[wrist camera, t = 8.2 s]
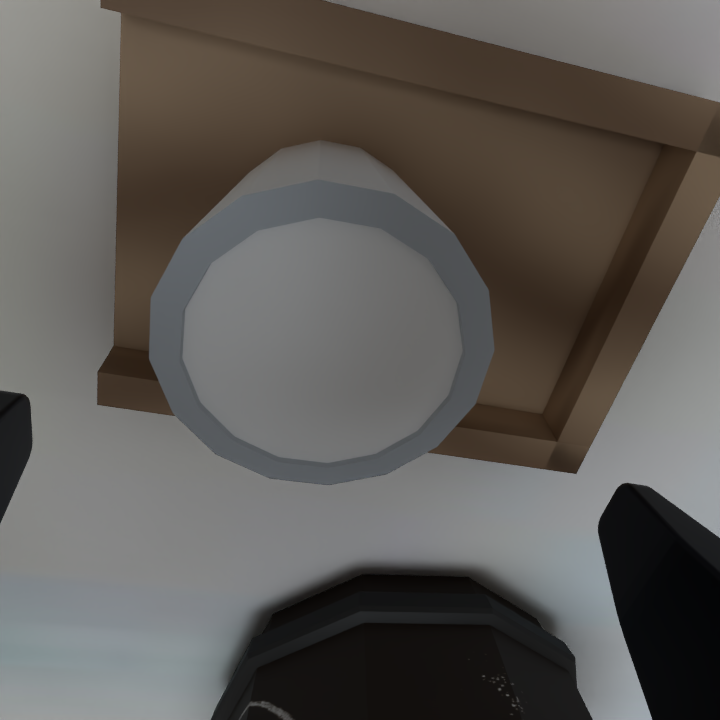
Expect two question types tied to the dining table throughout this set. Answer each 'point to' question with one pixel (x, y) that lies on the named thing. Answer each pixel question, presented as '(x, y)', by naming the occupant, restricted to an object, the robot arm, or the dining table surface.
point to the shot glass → (321, 321)
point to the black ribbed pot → (404, 658)
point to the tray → (425, 187)
